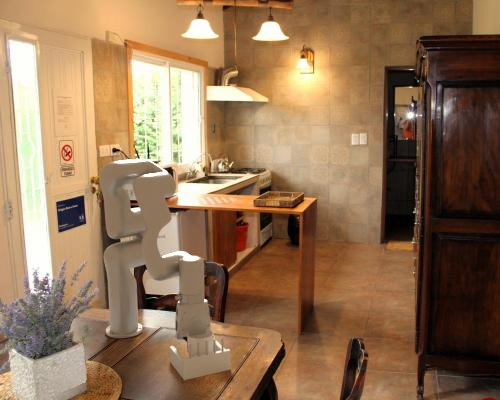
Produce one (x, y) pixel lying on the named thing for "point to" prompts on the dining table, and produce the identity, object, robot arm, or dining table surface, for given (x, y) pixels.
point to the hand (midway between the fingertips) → (193, 354)
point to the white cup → (201, 342)
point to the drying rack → (201, 361)
